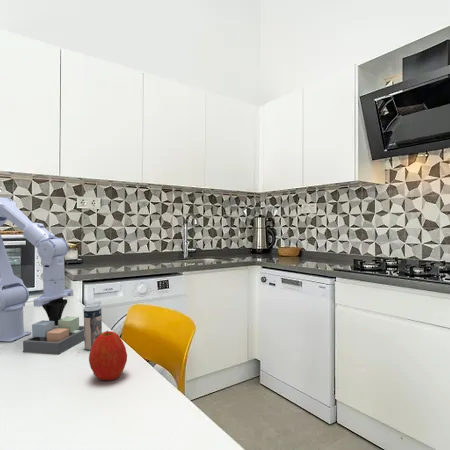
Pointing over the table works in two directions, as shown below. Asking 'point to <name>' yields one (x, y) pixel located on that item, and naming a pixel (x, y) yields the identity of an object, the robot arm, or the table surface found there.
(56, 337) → the key terracotta
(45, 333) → the pale blue block
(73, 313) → the table surface
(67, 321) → the key sage
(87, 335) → the beer can
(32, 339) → the grey tray
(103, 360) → the apple
